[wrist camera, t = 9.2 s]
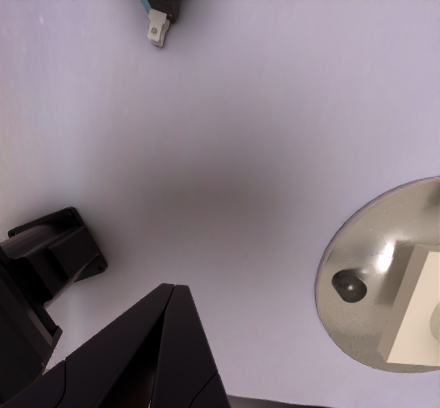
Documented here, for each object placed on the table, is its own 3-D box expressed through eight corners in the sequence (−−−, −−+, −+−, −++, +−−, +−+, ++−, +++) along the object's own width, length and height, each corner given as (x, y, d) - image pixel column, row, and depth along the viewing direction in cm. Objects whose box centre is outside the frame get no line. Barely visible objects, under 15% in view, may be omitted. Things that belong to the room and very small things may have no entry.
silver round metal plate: (297, 355, 25) (305, 380, 22) (343, 164, 19) (361, 168, 17) (483, 371, 25) (512, 397, 23) (582, 188, 19) (635, 195, 17)
